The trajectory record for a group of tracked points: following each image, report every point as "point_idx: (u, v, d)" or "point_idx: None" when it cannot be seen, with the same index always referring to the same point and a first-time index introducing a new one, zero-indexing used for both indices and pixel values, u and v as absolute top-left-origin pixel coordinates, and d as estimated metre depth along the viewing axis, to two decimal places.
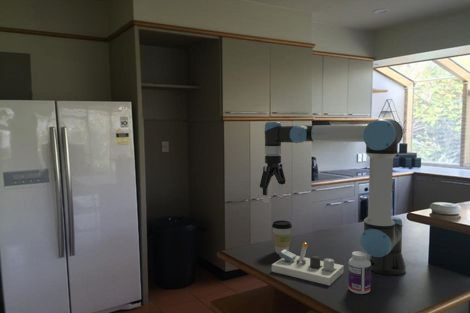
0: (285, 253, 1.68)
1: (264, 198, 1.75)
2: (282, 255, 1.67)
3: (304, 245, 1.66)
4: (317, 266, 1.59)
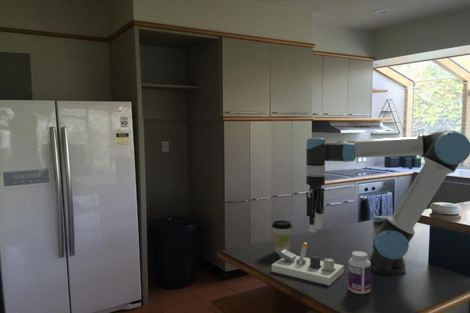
0: (285, 253, 1.68)
1: (311, 227, 1.57)
2: (282, 255, 1.67)
3: (304, 245, 1.66)
4: (317, 266, 1.59)
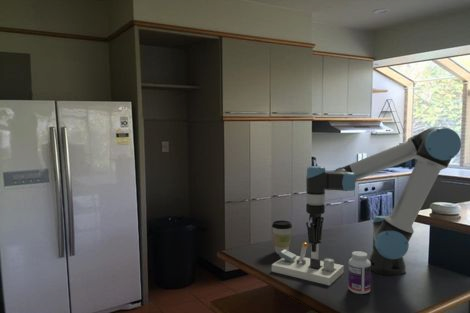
0: (285, 253, 1.68)
1: (313, 254, 1.60)
2: (282, 255, 1.67)
3: (304, 245, 1.66)
4: (317, 268, 1.59)
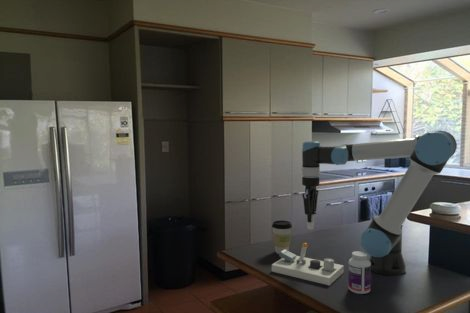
0: (285, 253, 1.68)
1: (308, 225, 1.70)
2: (282, 255, 1.67)
3: (304, 245, 1.66)
4: None
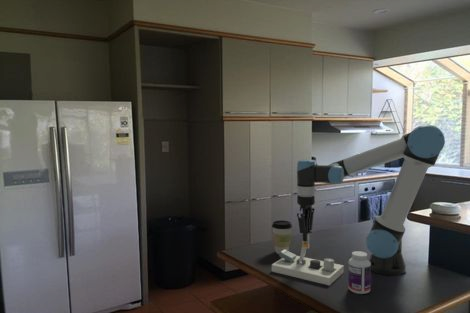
0: (285, 253, 1.68)
1: None
2: (282, 255, 1.67)
3: (304, 245, 1.66)
4: None
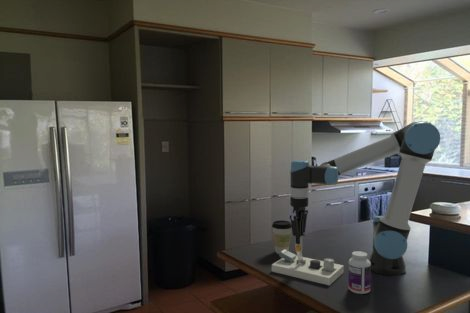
0: (285, 253, 1.68)
1: None
2: (282, 255, 1.67)
3: (298, 250, 1.61)
4: None
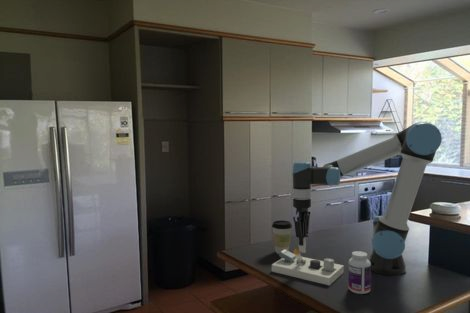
0: (285, 253, 1.68)
1: (300, 248, 1.64)
2: (282, 255, 1.67)
3: (296, 254, 1.60)
4: None
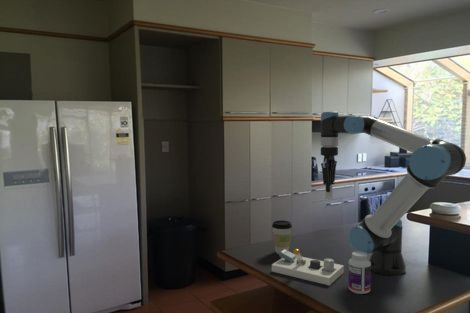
0: (285, 253, 1.68)
1: (327, 195, 1.72)
2: (282, 255, 1.67)
3: (296, 254, 1.60)
4: None
